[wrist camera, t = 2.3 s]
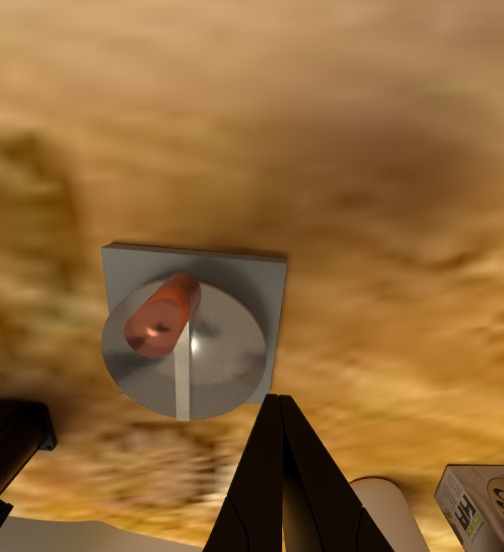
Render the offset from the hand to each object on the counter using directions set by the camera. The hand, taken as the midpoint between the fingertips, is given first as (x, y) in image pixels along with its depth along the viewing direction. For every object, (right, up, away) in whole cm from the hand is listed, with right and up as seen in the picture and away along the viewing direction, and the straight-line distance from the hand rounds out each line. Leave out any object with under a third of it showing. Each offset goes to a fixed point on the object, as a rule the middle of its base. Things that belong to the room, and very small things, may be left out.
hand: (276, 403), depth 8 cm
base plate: (-6, 0, +14) cm, 15 cm away
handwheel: (-6, -1, +12) cm, 14 cm away
